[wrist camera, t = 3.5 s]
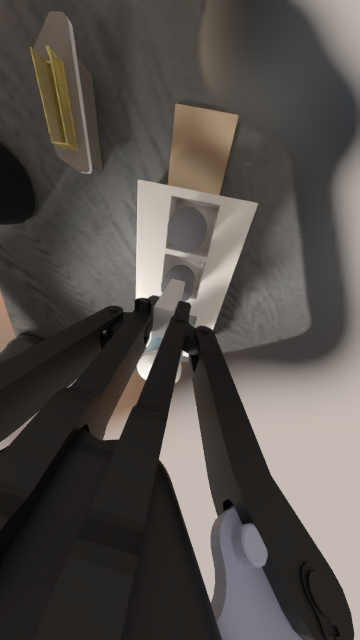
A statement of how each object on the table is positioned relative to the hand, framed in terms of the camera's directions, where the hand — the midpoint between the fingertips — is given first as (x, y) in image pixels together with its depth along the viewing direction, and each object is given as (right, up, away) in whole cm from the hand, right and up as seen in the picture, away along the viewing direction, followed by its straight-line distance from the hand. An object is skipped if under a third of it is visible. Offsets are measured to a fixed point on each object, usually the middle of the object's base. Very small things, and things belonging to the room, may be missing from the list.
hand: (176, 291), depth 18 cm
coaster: (+3, +17, +2) cm, 18 cm away
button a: (+1, +4, +6) cm, 7 cm away
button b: (+2, +9, +3) cm, 10 cm away
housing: (+1, +4, +11) cm, 12 cm away
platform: (-11, +21, +3) cm, 24 cm away
